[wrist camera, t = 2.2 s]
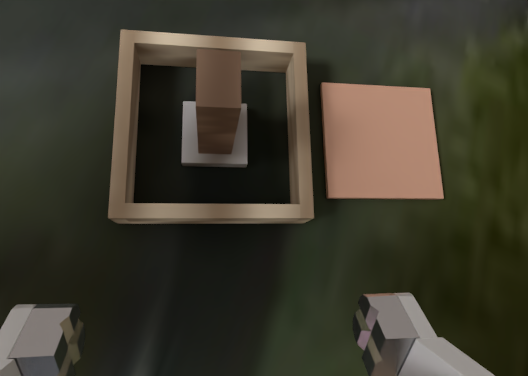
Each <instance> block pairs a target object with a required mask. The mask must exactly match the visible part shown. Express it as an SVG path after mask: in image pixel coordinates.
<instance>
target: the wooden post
mask: <svg viewBox="0 0 528 376" xmlns="http://www.w3.org/2000/svg"><path fill="white" fill-rule="evenodd" d="M181 163H182V166H199V167H247V164H248V163H247V104H241V52H237V51H222V50H207V49H197V62H196V102H192V101H183V126H182V162H181Z"/></svg>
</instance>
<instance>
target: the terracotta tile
mask: <svg viewBox="0 0 528 376" xmlns="http://www.w3.org/2000/svg"><path fill="white" fill-rule="evenodd" d="M320 92H321V110H322V127H323V145H324V162H325V179H326V197H327V199H424V200H441V199H444V196H443V188H442V180H441V172H440V164H439V156H438V148H437V140H436V132H435V124H434V116H433V108H432V100H431V92H430V88H413V87H395V86H377V85H359V84H341V83H323V82H322V83H321V85H320Z"/></svg>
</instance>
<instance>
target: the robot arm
mask: <svg viewBox="0 0 528 376" xmlns="http://www.w3.org/2000/svg"><path fill="white" fill-rule="evenodd" d="M358 304H359V306H360V309H359V310H358V311H356V312H355V314H354V318H353V332H354V337H355V340H356V342H357V344H358V345H359V346H360V347H361V348H362V349H363V350H364V353H363V356H362V359H363V361H364V364H365V367H366V369H367V372H368V375H369V376H495V375H493V374H492V373H490V372H489V371H488V370H486V369H485V368H484V367H482V366H481V365H480V364H478V363H477V362H475V361H474V360H473V359H471V358H470V357H469V356H467V355H466V354H465V353H463V352H462V351H460V350H459V349H458V348H456V347H455V346H454V345H452V344H451V343H449V342H448V341H447V340H445V339H444V338H443V337H437V335H436V334H435V332H434V330H433V328H432V327H431V325H430V323H429V322H428V320H427V318H426V317H425V315H424V313H423V311H422V310H421V308H420V306H419V305H418V303H417V301H416V300H415V298H414V296H413V295H412V294H411V293H380V294H363V295H362V296H361V297H360V299H359V302H358ZM80 313H81V312H80V308H79V305H78V304H19V305H16V306H15V307H14V308H13V309H12V310H11V311H10V313H9V315H8V316H7V318H6V320H5V322H4V324H3V326H2V327H1V329H0V376H75V375H76V373H75V369H74V366H73V365H74V364H75V363H76V362H77V361H78V360H79V359H80V358H81V355H82V352H83V349H84V342H85V328H84V323H83V322H81V321H80V320H78V319H79V316H80Z"/></svg>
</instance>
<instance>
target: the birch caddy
mask: <svg viewBox="0 0 528 376" xmlns="http://www.w3.org/2000/svg"><path fill="white" fill-rule="evenodd" d="M197 49H207V50H222V51H237V52H241V70H248V71H265V72H282V73H286V93H287V121H288V148H289V176H290V203H291V204H175V203H133V201H134V183H135V164H136V146H137V127H138V109H139V91H140V72H141V64H145V65H163V66H180V67H196V62H197ZM108 218H109V219H110V220H112V221H114V222H116V223H118V224H260V223H305V222H307V221H309V220H311V219H313V218H314V206H313V186H312V165H311V145H310V125H309V105H308V85H307V65H306V44H305V43H303V42H289V41H275V40H261V39H247V38H233V37H219V36H205V35H191V34H177V33H163V32H149V31H135V30H121V35H120V49H119V64H118V78H117V93H116V108H115V122H114V137H113V152H112V166H111V181H110V196H109V210H108Z"/></svg>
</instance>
